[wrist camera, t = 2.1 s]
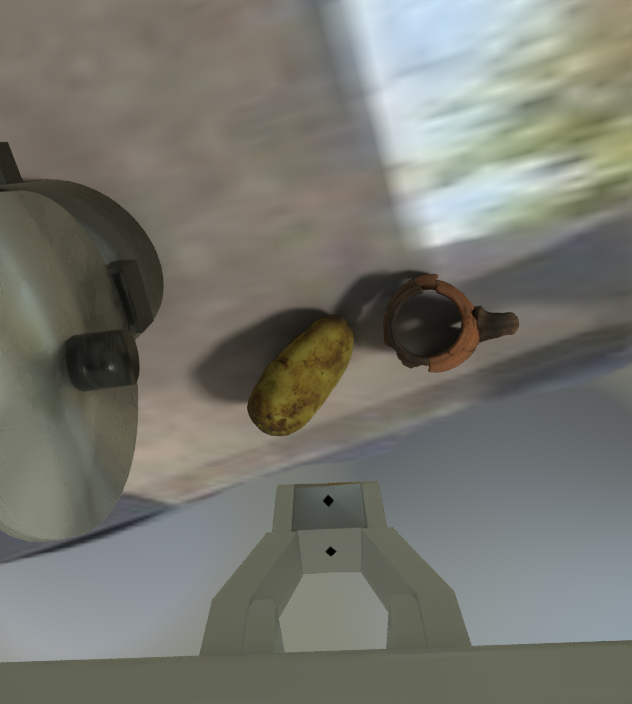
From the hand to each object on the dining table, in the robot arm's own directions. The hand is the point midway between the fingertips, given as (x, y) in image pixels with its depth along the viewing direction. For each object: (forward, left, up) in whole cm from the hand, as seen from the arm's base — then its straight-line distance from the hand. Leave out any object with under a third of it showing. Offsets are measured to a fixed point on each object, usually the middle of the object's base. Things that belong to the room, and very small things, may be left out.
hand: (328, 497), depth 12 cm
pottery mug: (+7, +12, -28) cm, 31 cm away
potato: (+11, -2, -28) cm, 30 cm away
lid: (0, -14, -9) cm, 16 cm away
